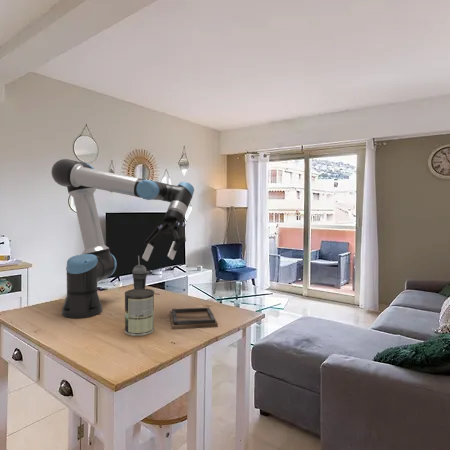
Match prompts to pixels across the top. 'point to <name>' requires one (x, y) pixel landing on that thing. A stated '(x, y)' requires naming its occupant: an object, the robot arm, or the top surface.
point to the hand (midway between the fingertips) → (157, 258)
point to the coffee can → (139, 312)
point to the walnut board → (192, 318)
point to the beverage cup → (139, 276)
